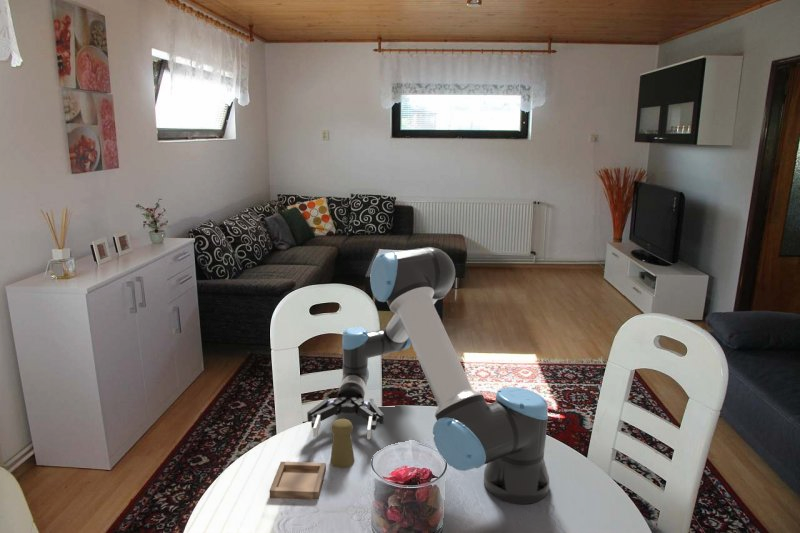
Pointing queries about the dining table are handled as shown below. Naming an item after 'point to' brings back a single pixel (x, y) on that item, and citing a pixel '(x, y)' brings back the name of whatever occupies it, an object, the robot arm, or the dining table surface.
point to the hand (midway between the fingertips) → (341, 433)
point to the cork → (342, 444)
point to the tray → (298, 480)
